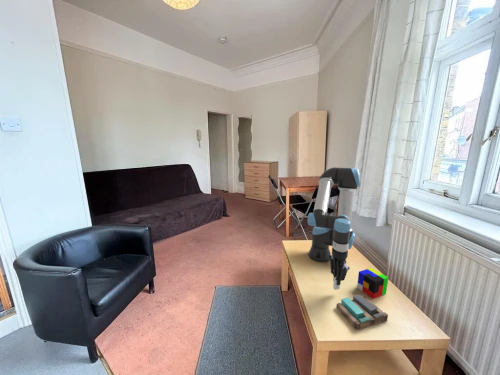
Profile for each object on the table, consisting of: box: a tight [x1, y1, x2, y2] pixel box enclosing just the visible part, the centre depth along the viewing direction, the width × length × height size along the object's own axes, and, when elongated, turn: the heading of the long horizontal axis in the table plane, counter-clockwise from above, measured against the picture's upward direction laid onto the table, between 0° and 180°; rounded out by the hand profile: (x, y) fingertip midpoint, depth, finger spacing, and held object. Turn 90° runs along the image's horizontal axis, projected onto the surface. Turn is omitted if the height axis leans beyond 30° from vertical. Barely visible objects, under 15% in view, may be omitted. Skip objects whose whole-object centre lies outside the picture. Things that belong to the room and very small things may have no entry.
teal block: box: [340, 297, 364, 321], centre depth 100 cm, size 10×4×4 cm, turn 17°
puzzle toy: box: [356, 267, 389, 300], centre depth 114 cm, size 10×10×10 cm
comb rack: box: [335, 296, 389, 331], centre depth 99 cm, size 13×18×4 cm
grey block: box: [352, 294, 377, 316], centre depth 102 cm, size 10×4×4 cm, turn 22°
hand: (336, 288), depth 111 cm, fingers closed
